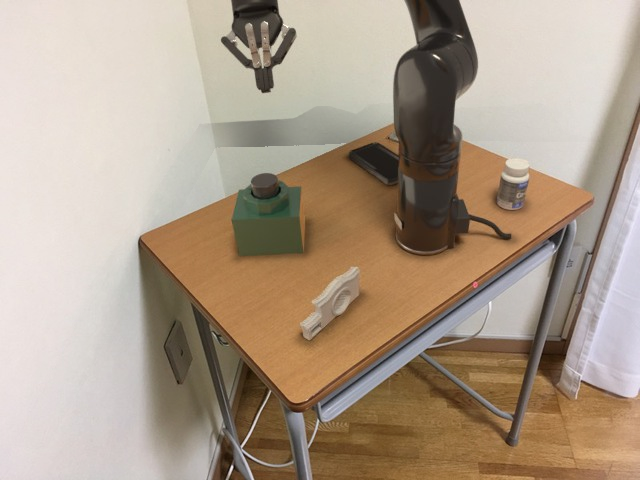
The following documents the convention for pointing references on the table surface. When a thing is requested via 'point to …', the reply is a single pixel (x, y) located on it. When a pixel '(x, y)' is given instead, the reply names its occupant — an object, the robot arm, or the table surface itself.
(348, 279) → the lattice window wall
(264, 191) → the dark push button
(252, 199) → the dispenser
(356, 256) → the table surface
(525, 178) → the pill bottle
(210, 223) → the table surface
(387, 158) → the phone
